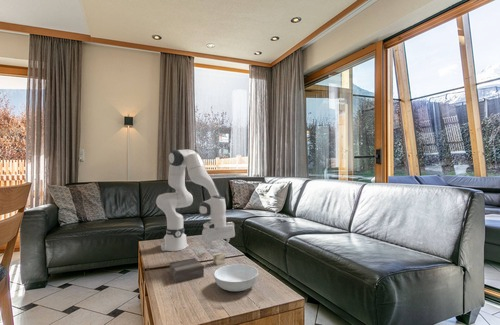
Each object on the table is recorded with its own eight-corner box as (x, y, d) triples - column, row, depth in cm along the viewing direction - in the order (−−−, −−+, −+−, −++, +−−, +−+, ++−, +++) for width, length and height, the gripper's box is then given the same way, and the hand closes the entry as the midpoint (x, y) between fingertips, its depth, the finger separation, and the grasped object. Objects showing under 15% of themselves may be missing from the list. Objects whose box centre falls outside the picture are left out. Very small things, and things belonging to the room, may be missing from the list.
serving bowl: (207, 283, 130) (207, 269, 130) (245, 274, 140) (245, 261, 140) (225, 301, 112) (225, 285, 112) (267, 290, 122) (266, 274, 122)
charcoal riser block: (169, 274, 142) (169, 262, 143) (194, 268, 149) (194, 258, 150) (176, 283, 130) (176, 271, 130) (203, 277, 137) (203, 265, 138)
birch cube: (213, 262, 158) (213, 254, 158) (220, 261, 160) (220, 252, 161) (217, 265, 154) (216, 256, 154) (224, 263, 156) (224, 255, 156)
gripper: (231, 220, 166) (232, 243, 165) (200, 224, 154) (201, 248, 154) (236, 222, 160) (237, 245, 160) (204, 226, 149) (205, 251, 149)
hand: (219, 247), depth 157 cm, fingers open, 8 cm apart
